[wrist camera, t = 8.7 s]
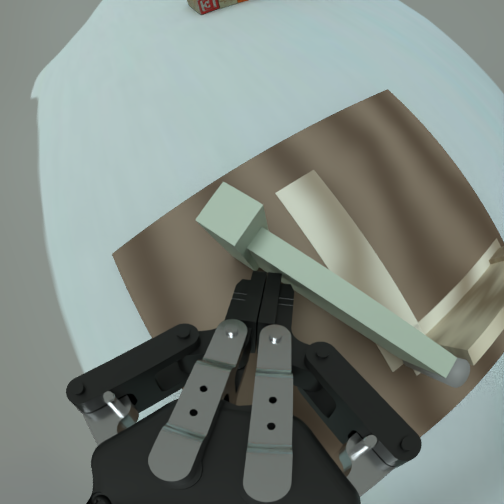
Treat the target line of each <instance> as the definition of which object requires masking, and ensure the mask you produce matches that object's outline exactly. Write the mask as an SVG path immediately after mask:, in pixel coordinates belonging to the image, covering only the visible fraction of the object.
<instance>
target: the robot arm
mask: <svg viewBox="0 0 504 504" xmlns="http://www.w3.org/2000/svg"><path fill="white" fill-rule="evenodd" d="M281 278H282V274H281V273H273V272H268V275H267V272H263V271H254V270H253V272H252V276H251V280H247V279H242V280H241V281H240V282H239V283H237V284H236V287H235V290H234V293H233V296H232V299H231V302H230V305H229V308H228V311H227V314H226V317H225V320H224V321H223V322H221V323H220V324H219V325H218V327H217V328H215V329H212V330H205V331H198V329H197V328H196V327H195V326H193V325H191V324H187V323H183V324H179V325H176V326H174V327H172V328H171V329H169V330H167V331H165V332H163V333H161V334H159V335H158V336H156V337H154V338H152V339H150V340H148V341H146V342H144V343H143V344H141V345H139V346H137V347H135V348H133V349H131V350H129V351H127V352H126V353H124V354H122V355H120V356H118V357H116V358H114V359H112V360H110V361H108V362H106V363H104V364H102V365H100V366H98V367H96V368H94V369H92V370H90V371H88V372H87V373H85V374H83V375H81V376H79V377H77V378H75V379H73V380H72V381H71V382H70V383H69V384H68V386H67V389H66V394H67V397H68V399H69V400H70V401H71V402H72V403H73V404H74V405H75V406H76V407H77V409H78V410H79V411H80V412H81V413H82V414H83V416H84V418H85V420H86V423H87V425H88V427H89V429H90V431H91V433H92V435H93V437H94V439H95V441H96V443H97V445H98V447H97V448H96V449H95V451H94V453H93V455H92V460H91V468H92V474H93V491H92V495H91V497H90V499H89V500H88V502H87V503H86V504H361V502H360V496H362V495H363V494H364V493H366V492H367V491H368V490H369V489H371V488H372V487H373V486H374V485H375V484H377V483H378V482H379V481H380V480H381V479H383V478H384V477H385V476H386V475H387V474H388V473H389V472H391V471H392V470H393V469H395V468H397V467H399V466H401V465H403V464H404V463H406V462H408V461H410V460H412V459H413V458H415V457H416V456H417V455H418V453H419V452H420V449H421V439H420V437H419V435H418V434H417V433H416V432H415V431H414V430H413V429H412V428H411V427H410V426H409V425H408V424H407V423H406V421H405V420H404V419H403V418H402V417H401V416H400V415H399V414H398V413H397V412H396V411H395V410H394V409H393V408H392V407H391V406H390V405H389V404H388V403H387V402H386V401H385V400H384V399H383V398H382V397H381V396H380V395H379V393H378V392H377V391H376V390H375V389H374V388H373V387H372V386H371V385H370V384H369V383H368V382H367V381H366V380H365V379H364V378H363V377H362V376H361V375H360V374H359V373H358V372H357V371H356V369H355V368H354V367H353V366H352V365H351V364H350V363H349V362H348V361H347V360H346V359H345V358H344V357H343V356H342V355H341V354H340V353H339V352H338V351H337V350H336V349H335V347H333V346H332V345H331V344H329V343H326V342H315V343H312V344H311V345H309V344H306V343H303V342H301V341H299V340H298V339H297V338H296V337H295V336H294V335H293V333H292V330H291V327H292V315H293V303H294V290H293V288H292V286H291V284H284V283H281ZM256 347H257V354H258V357H257V367H256V373H255V383H254V392H253V402H252V405H243V406H238V405H236V402H237V397H238V393H239V390H240V387H241V384H242V381H243V378H244V375H245V372H246V369H247V363H248V361H249V356H250V353H255V352H256ZM293 385H295V386H297V388H298V390H299V392H300V393H301V394H302V396H303V397H304V398H305V399H306V401H307V402H308V403H309V404H310V406H311V407H312V408H313V409H314V411H315V412H316V413H317V414H318V415H319V417H320V418H321V419H322V420H323V422H324V423H325V424H326V425H327V426H328V428H329V429H330V430H331V431H332V432H333V434H334V435H335V436H336V437H337V438H338V440H339V441H340V442H341V443H342V444H343V445H342V446H341V448H340V450H339V459H340V461H341V463H342V465H343V469H344V471H343V472H342V471H341V469H340V468H339V467H338V465H337V464H336V463H335V461H334V460H333V459H332V458H331V456H330V455H329V454H328V452H327V451H326V450H325V448H324V447H323V446H322V444H321V443H320V442H319V440H318V439H317V437H316V436H315V435H314V433H313V432H312V431H311V429H310V428H309V427H308V426H307V425H306V424H305V423H304V422H303V421H302V420H301V419H299V418H298V417H296V416H294V415H293ZM183 387H184V388H183ZM181 388H183V391H182V393H181V395H180V397H179V399H177V400H174V401H172V402H170V403H168V404H166V405H164V406H163V407H161V408H160V409H158V410H157V411H155V412H153V413H152V414H150V415H148V416H147V417H145V418H143V419H142V420H140V421H138V422H137V420H138V417H139V413H140V412H141V411H143V410H145V409H147V408H149V407H150V406H152V405H154V404H156V403H157V402H159V401H161V400H163V399H164V398H166V397H168V396H169V395H171V394H173V393H175V392H176V391H178V390H180V389H181ZM136 422H137V423H136Z"/></svg>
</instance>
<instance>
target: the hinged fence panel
mask: <svg viewBox="0 0 504 504" xmlns="http://www.w3.org/2000/svg"><path fill="white" fill-rule="evenodd" d="M195 220H196V221H197V222H198V223H199V224H200V225H201V226H202V227H203V228H204V229H205V230H206V231H207V232H208V233H209V234H210V235H211V236H212V237H213V238H214V239H215V240H216V241H217V242H218V243H219V244H220V245H221V246H222V247H223V248H224V249H225V250H226V251H227V252H229V253H230V254H231V255H232V256H233V257H234V258H236V259H237V260H239V261H240V262H242V263H243V264H245V265H246V266H248V267H249V268H251V269H252V270H254V271H257V270H258V268H259V267H260V268H261V269H263V270H264V271H266V272H267V273H268V272H273V273H281V274H282V278H281V282H282V283H284V284H291V286H292V288H293V290H295V291H296V292H298V293H299V294H301V295H302V296H304V297H305V298H307V299H308V300H310V301H311V302H313V303H315V304H316V305H318V306H319V307H321V308H322V309H324V310H325V311H327V312H328V313H330V314H331V315H333V316H334V317H336V318H338V319H339V320H341V321H342V322H344V323H345V324H347V325H348V326H350V327H351V328H353V329H355V330H356V331H358V332H359V333H361V334H362V335H364V336H365V337H367V338H368V339H370V340H372V341H373V342H375V343H376V344H378V345H379V346H381V347H382V348H384V349H386V350H387V351H389V352H390V353H392V354H393V355H395V356H397V357H398V358H400V359H402V360H403V363H404V364H405V365H406V366H407V367H409V368H412V369H414V370H416V371H418V372H420V373H422V374H425V375H427V376H429V377H431V378H433V379H436V380H438V381H440V382H442V383H445V384H447V385H449V386H451V387H454V388H458V387H460V386H462V385H463V384H464V383H465V382H466V380H467V379H468V376H469V373H470V364H469V362H468V361H467V360H465V359H461V358H457V357H455V356H454V355H453V354H451V353H450V352H448V351H447V350H446V349H444V348H443V347H441V346H440V345H439V344H437V343H436V342H434V341H433V340H432V339H430V338H429V337H427V336H426V335H425V334H423V333H422V332H420V331H419V330H417V329H416V328H415V327H413V326H412V325H410V324H409V323H407V322H406V321H404V320H403V319H402V318H400V317H399V316H397V315H396V314H394V313H393V312H391V311H390V310H388V309H387V308H386V307H384V306H383V305H381V304H380V303H378V302H377V301H375V300H374V299H372V298H371V297H369V296H368V295H366V294H365V293H363V292H362V291H360V290H359V289H357V288H356V287H354V286H353V285H351V284H350V283H348V282H347V281H345V280H344V279H342V278H341V277H339V276H338V275H336V274H335V273H333V272H332V271H330V270H329V269H327V268H326V267H324V266H322V265H321V264H319V263H318V262H316V261H315V260H313V259H312V258H310V257H309V256H307V255H305V254H304V253H302V252H301V251H299V250H298V249H296V248H295V247H293V246H291V245H290V244H288V243H287V242H285V241H283V240H282V239H280V238H279V237H277V236H276V235H274V234H272V233H271V232H269V230H268V225H267V221H266V216H265V211H264V206H263V204H261V203H259V202H258V201H256V200H254V199H253V198H251V197H249V196H248V195H246V194H244V193H242V192H241V191H239V190H237V189H236V188H234V187H232V186H230V185H229V184H227V183H225V182H223V183H222V184H221V185H220V187H219V188H218V189H217V191H216V192H215V193H214V195H213V196H212V197H211V199H210V200H209V201H208V203H207V204H206V206H205V207H204V208H203V210H202V211H201V212H200V214H199V215H198V217H197V218H196V219H195Z"/></svg>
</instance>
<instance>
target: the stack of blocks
mask: <svg viewBox="0 0 504 504" xmlns="http://www.w3.org/2000/svg"><path fill="white" fill-rule="evenodd" d="M244 1H247V0H187V2H188V5H189V6H190V7H192V8H193V9H194V10H195V11H197V12H198V13H199V14H201V15H202V14H205V13H208V12H210V11H213V10H216V9H219V8H223V7H226V6H230V5H233V4H236V3H240V2H244Z"/></svg>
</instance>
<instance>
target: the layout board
mask: <svg viewBox="0 0 504 504" xmlns="http://www.w3.org/2000/svg"><path fill="white" fill-rule="evenodd" d="M223 182H225V183H227V184H229V185H230V186H232V187H234V188H236V189H237V190H239V191H241V192H242V193H244V194H246V195H248V196H249V197H251V198H253V199H254V200H256V201H258V202H259V203H261V204H263V206H264V211H265V216H266V221H267V225H268V230H269V232H271V233H272V234H274V235H276V236H277V237H279V238H280V239H282V240H283V241H285V242H287V243H288V244H290V245H291V246H293V247H295V248H296V249H298V250H299V251H301V252H302V253H304V254H305V255H307V256H309V257H310V258H312V259H313V260H315V261H316V262H318V263H319V264H321V265H322V266H324V267H326V268H327V269H329V270H330V271H332V272H333V273H335V274H336V275H338V276H339V277H341V278H342V279H344V280H345V281H347V282H348V283H350V284H351V285H353V286H354V287H356V288H357V289H359V290H360V291H362V292H363V293H365V294H366V295H368V296H369V297H371V298H372V299H374V300H375V301H377V302H378V303H380V304H381V305H383V306H384V307H386V308H387V309H388V310H390V311H391V312H393V313H394V314H396V315H397V316H399V317H400V318H402V319H403V320H404V321H406V322H407V323H409V324H410V325H412V326H413V327H415V328H416V329H417V330H419V331H420V332H422V333H423V334H427V333H428V332H429V331H430V330H431V329H432V328H433V327H434V326H435V325H436V324H437V323H438V322H439V321H440V320H441V319H442V318H443V317H444V316H445V315H446V314H447V313H448V312H449V311H450V310H451V309H452V308H453V307H454V306H455V305H456V304H457V303H458V302H459V301H460V300H461V299H462V297H463V296H464V295H465V294H466V293H467V292H468V291H469V290H470V289H471V287H472V286H473V285H474V284H475V283H476V282H477V280H478V279H479V278H480V277H481V276H482V274H483V273H484V272H485V271H486V269H487V268H488V267H489V266H490V262H489V260H490V258H491V257H492V256H493V254H494V253H495V252H496V250H497V249H498V248H500V247H503V246H504V242H503V240H502V238H501V236H500V234H499V232H498V230H497V228H496V227H495V225H494V223H493V221H492V219H491V218H490V216H489V214H488V212H487V211H486V209H485V207H484V206H483V204H482V202H481V201H480V199H479V198H478V196H477V194H476V193H475V191H474V190H473V188H472V187H471V185H470V184H469V182H468V181H467V179H466V178H465V177H464V175H463V174H462V172H461V171H460V170H459V168H458V167H457V165H456V164H455V163H454V161H453V160H452V159H451V158H450V156H449V155H448V154H447V152H446V151H445V150H444V149H443V147H442V146H441V145H440V144H439V143H438V141H437V140H436V139H435V138H434V137H433V135H432V134H431V133H430V132H429V131H428V130H427V129H426V128H425V126H424V125H423V124H422V123H421V122H420V121H419V120H418V119H417V118H416V117H415V116H414V115H413V114H412V113H411V111H410V110H409V109H408V108H407V107H406V106H405V105H404V104H403V103H402V102H401V101H400V100H398V99H397V98H396V97H395V96H394V95H393V94H392V93H391V92H390V91H389V90H385V91H383V92H381V93H378V94H376V95H374V96H371V97H369V98H367V99H365V100H363V101H360V102H358V103H356V104H354V105H352V106H350V107H347V108H345V109H343V110H341V111H339V112H337V113H335V114H333V115H331V116H329V117H327V118H325V119H323V120H321V121H319V122H317V123H315V124H313V125H311V126H309V127H307V128H306V129H304V130H302V131H300V132H298V133H296V134H294V135H292V136H291V137H289V138H287V139H285V140H283V141H282V142H280V143H278V144H276V145H274V146H273V147H271V148H269V149H267V150H266V151H264V152H262V153H260V154H259V155H257V156H255V157H254V158H252V159H250V160H248V161H247V162H245V163H243V164H242V165H240V166H239V167H237V168H235V169H234V170H232V171H230V172H229V173H227V174H226V175H224V176H222V177H221V178H219V179H218V180H216V181H214V182H213V183H211V184H210V185H208V186H207V187H205V188H204V189H202V190H201V191H199V192H197V193H196V194H194V195H193V196H191V197H190V198H188V199H187V200H185V201H184V202H183V203H181V204H180V205H178V206H177V207H175V208H174V209H172V210H171V211H169V212H168V213H167V214H165V215H164V216H162V217H161V218H160V219H158V220H157V221H155V222H154V223H153V224H151V225H150V226H148V227H147V228H146V229H144V230H143V231H142V232H140V233H139V234H138V235H136V236H135V237H134V238H132V239H131V240H130V241H128V242H127V243H126V244H124V245H123V246H122V247H120V248H119V249H118V250H117V251H115V252H114V253H113V254H112V256H113V258H114V260H115V263H116V265H117V267H118V270H119V272H120V274H121V276H122V279H123V281H124V283H125V285H126V287H127V290H128V292H129V294H130V296H131V298H132V300H133V302H134V304H135V306H136V308H137V310H138V312H139V314H140V316H141V318H142V320H143V322H144V324H145V326H146V328H147V330H148V331H149V333H150V335H151V337H152V338H154V337H156V336H158V335H159V334H161V333H163V332H165V331H167V330H169V329H171V328H172V327H174V326H176V325H179V324H183V323H187V324H191V325H193V326H195V327H196V328H197V329H198V331H205V330H212V329H215V328H217V327H218V325H219V324H220V323H221V322H223V321H224V320H225V317H226V314H227V311H228V308H229V305H230V302H231V299H232V296H233V293H234V290H235V287H236V284H237V283H239V282H240V281H241V280H242V279H247V280H251V276H252V272H253V270H252V269H251V268H249V267H248V266H246V265H245V264H243V263H242V262H240V261H239V260H237V259H236V258H234V257H233V256H232V255H231V254H230V253H229V252H227V251H226V250H225V249H224V248H223V247H222V246H221V245H220V244H219V243H218V242H217V241H216V240H215V239H214V238H213V237H212V236H211V235H210V234H209V233H208V232H207V231H206V230H205V229H204V228H203V227H202V226H201V225H200V224H199V223H198V222H197V221H196V220H195V219H196V218H197V217H198V215H199V214H200V212H201V211H202V210H203V208H204V207H205V206H206V204H207V203H208V201H209V200H210V199H211V197H212V196H213V195H214V193H215V192H216V191H217V189H218V188H219V187H220V185H221V184H222V183H223ZM257 271H263V272H266V271H264V270H263V269H261V268H260V267H259V268H258V270H257ZM267 275H268V273H267ZM281 283H282V282H281ZM291 330H292V333H293V335H294V336H295V337H296V338H297V339H298V340H299V341H301V342H303V343H306V344H309V345H311V344H312V343H315V342H326V343H329V344H331V345H332V346H333V347H335V349H336V350H337V351H338V352H339V353H340V354H341V355H342V356H343V357H344V358H345V359H346V360H347V361H348V362H349V363H350V364H351V365H352V366H353V367H354V368H355V369H356V371H357V372H358V373H359V374H360V375H361V376H362V377H363V378H364V379H365V380H366V381H367V382H368V383H369V384H370V385H371V386H372V387H373V388H374V389H375V390H376V391H377V392H378V393H379V395H380V396H381V397H382V398H383V399H384V400H385V401H386V402H387V403H388V404H389V405H390V406H391V407H392V408H393V409H394V410H395V411H396V412H397V413H398V414H399V415H400V416H401V417H402V418H403V419H404V420H405V421H406V423H407V424H408V425H409V426H410V427H411V428H412V429H413V430H414V431H415V432H416V433H417V434H418V435H419V437H421V436H422V435H423V434H425V433H426V432H427V431H428V430H430V429H431V428H432V427H433V426H434V425H435V424H437V423H438V422H439V421H440V420H441V419H442V418H443V417H445V416H446V415H447V414H448V413H449V412H450V411H451V410H452V409H453V408H454V407H455V406H456V405H457V404H458V403H459V402H460V401H462V400H463V399H464V397H465V396H466V395H467V394H468V393H469V392H470V391H471V390H472V389H473V388H474V387H475V386H476V385H477V384H478V383H479V382H480V380H481V379H482V378H483V377H484V376H485V375H486V374H487V372H488V371H489V370H490V369H491V368H492V366H493V365H494V364H495V363H496V362H497V360H498V359H499V358H500V356H501V355H502V354H503V353H504V329H503V331H502V332H501V333H500V335H499V336H498V337H497V338H496V340H495V341H494V342H493V344H492V345H491V346H490V347H489V349H488V350H487V351H486V352H485V353H484V354H483V356H482V357H481V358H480V359H479V360H478V361H477V363H476V364H475V365H470V373H469V376H468V379H467V380H466V382H465V383H464V384H463V385H462V386H460V387H458V388H454V387H451V386H449V385H447V384H445V383H442V382H440V381H438V380H436V379H433V378H431V377H429V376H427V375H425V374H422V373H420V372H418V371H416V370H414V369H412V368H409V367H407V366H406V365H405V364H404V363H403V360H402V359H400V358H398V357H397V356H395V355H393V354H392V353H390V352H389V351H387V350H386V349H384V348H382V347H381V346H379V345H378V344H376V343H375V342H373V341H372V340H370V339H368V338H367V337H365V336H364V335H362V334H361V333H359V332H358V331H356V330H355V329H353V328H351V327H350V326H348V325H347V324H345V323H344V322H342V321H341V320H339V319H338V318H336V317H334V316H333V315H331V314H330V313H328V312H327V311H325V310H324V309H322V308H321V307H319V306H318V305H316V304H315V303H313V302H311V301H310V300H308V299H307V298H305V297H304V296H302V295H301V294H299V293H298V292H296V291H295V290H294V303H293V315H292V327H291ZM257 357H258V354H257V347H256V352H255V353H250V356H249V361H248V363H247V369H246V372H245V375H244V378H243V381H242V384H241V387H240V390H239V393H238V397H237V402H236V405H238V406H243V405H252V402H253V392H254V383H255V373H256V367H257ZM183 388H184V387H183ZM183 388H182V389H183ZM293 415H294V416H296V417H298V418H299V419H301V420H302V421H303V422H304V423H305V424H306V425H307V426H308V427H309V428H310V429H311V431H312V432H313V433H314V435H315V436H316V437H317V439H318V440H319V442H320V443H321V444H322V446H323V447H324V448H325V450H326V451H327V452H328V454H329V455H330V456H331V458H332V459H333V460H334V461H335V463H336V464H337V465H338V467H339V468H340V469H341V471H342V472H343V471H344V469H343V465H342V463H341V461H340V459H339V450H340V448H341V446H342V445H343V444H342V443H341V442H340V441H339V440H338V438H337V437H336V436H335V435H334V434H333V432H332V431H331V430H330V429H329V428H328V426H327V425H326V424H325V423H324V422H323V420H322V419H321V418H320V417H319V415H318V414H317V413H316V412H315V411H314V409H313V408H312V407H311V406H310V404H309V403H308V402H307V401H306V399H305V398H304V397H303V396H302V394H301V393H300V392H299V390H298V388H297V386H295V385H293Z"/></svg>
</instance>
